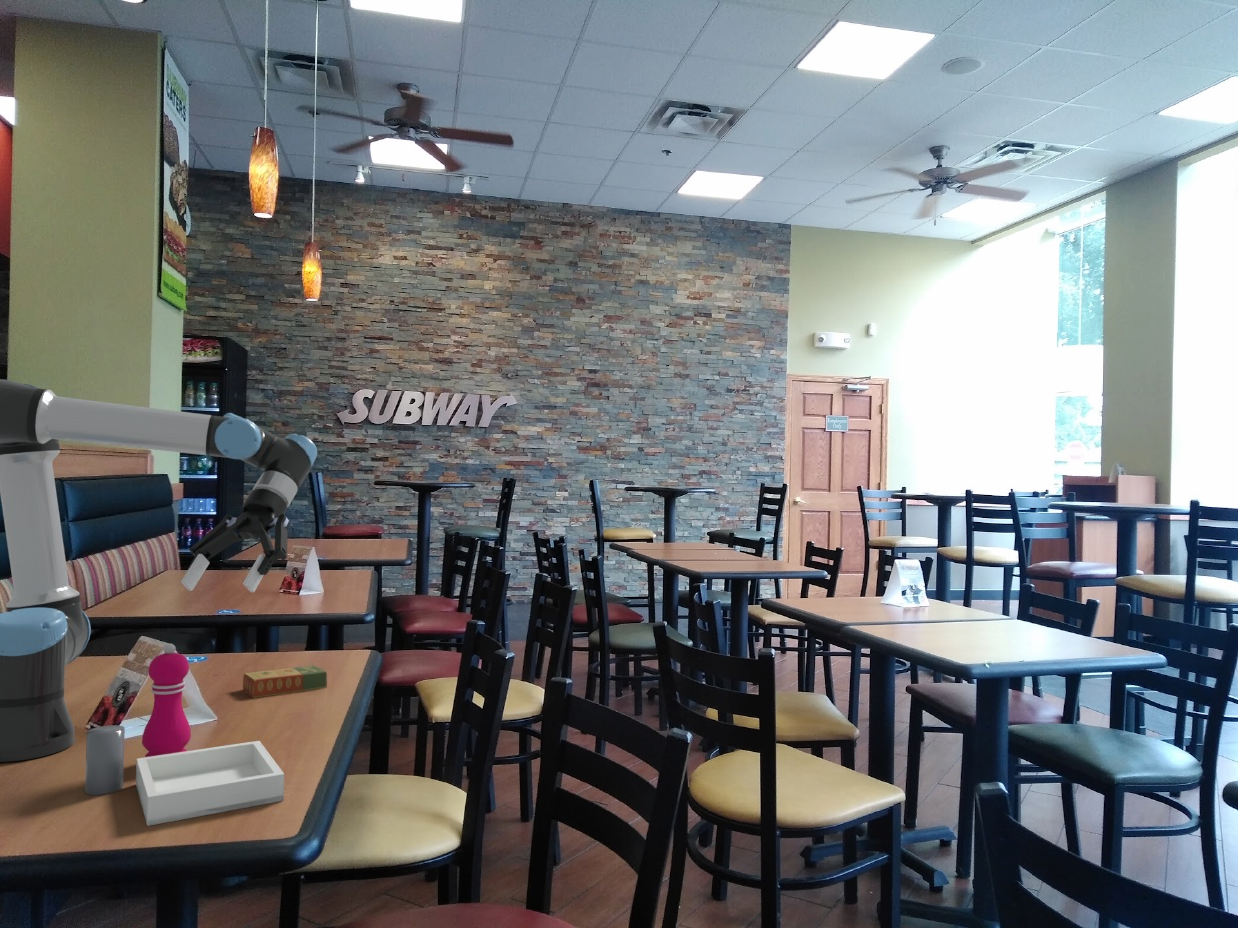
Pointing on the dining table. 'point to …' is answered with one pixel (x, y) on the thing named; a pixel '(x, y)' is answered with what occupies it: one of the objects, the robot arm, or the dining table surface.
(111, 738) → the grey rounded pillar
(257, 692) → the carton
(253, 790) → the tray
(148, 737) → the pepper mill
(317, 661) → the dining table surface
